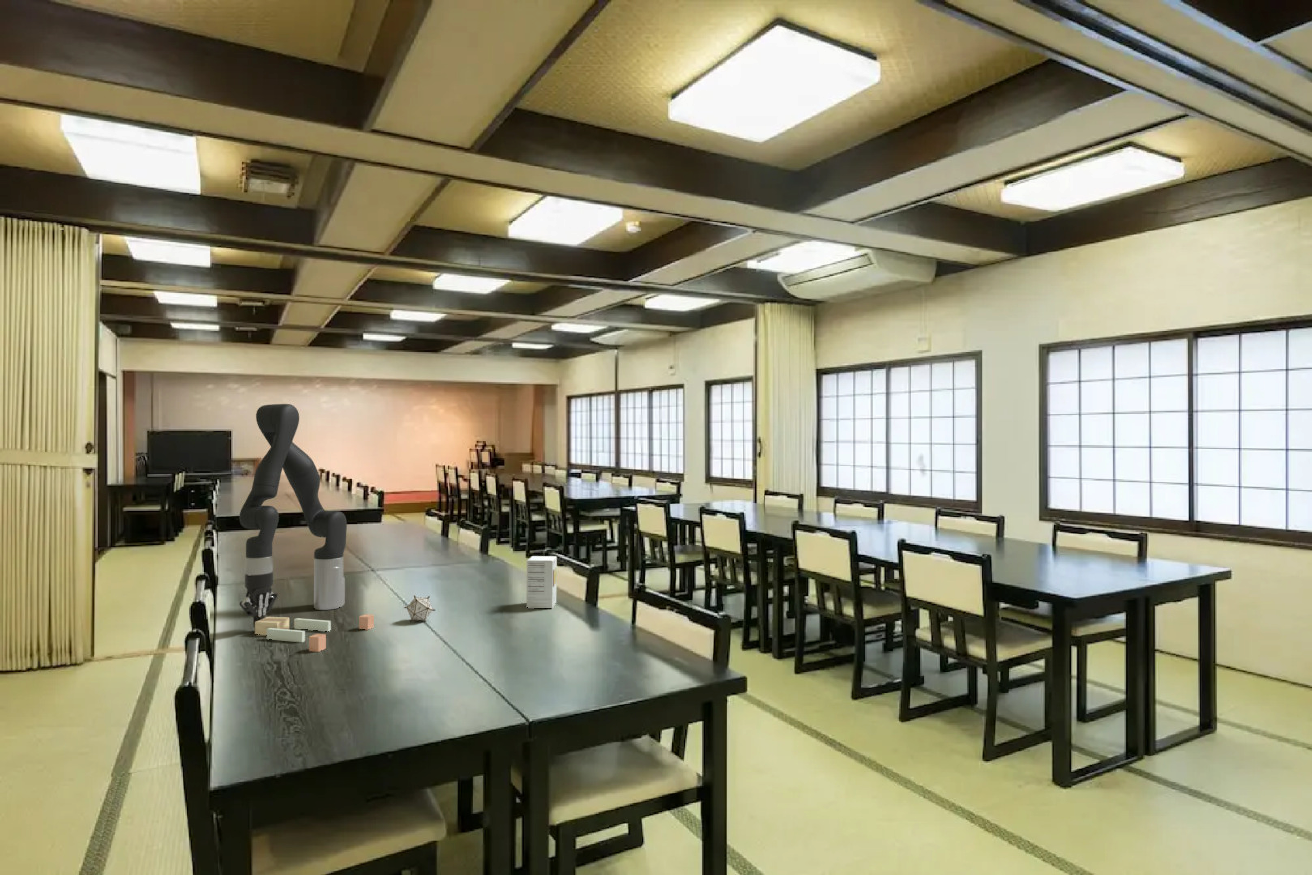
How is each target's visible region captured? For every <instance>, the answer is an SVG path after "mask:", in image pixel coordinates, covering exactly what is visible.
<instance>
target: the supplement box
mask: <svg viewBox="0 0 1312 875" xmlns="http://www.w3.org/2000/svg"><path fill="white" fill-rule="evenodd" d="M557 558H558V557H557V556H556V555H555V556H553V555H551V556H550V555H548V556H547V555H546V556H545V555H543V556H542V555H540V556H539V555H532V556H530V558H528V559H527V560H526V608H527V607H528V608H527V609H534V608H552V609H554V607H555V606H556V604H557V569H558V568H557V566H558V565H557V563H558V562H557V560H558V559H557ZM555 603H556V604H555Z"/></svg>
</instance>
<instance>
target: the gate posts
mask: <svg viewBox="0 0 1312 875" xmlns="http://www.w3.org/2000/svg"><path fill="white" fill-rule="evenodd" d="M358 619H359V620H358V623H359V625H358V629H365V630H364V631H369V630H368V629H370V630H372V629H374V628H373V627H374V626H375V621H374V620H375V615H374V614H362V615H359V618H358ZM371 628H372V629H371ZM326 635H327V634H324V633H315V634H313V635H310V636H308V639H309V640H308V648H309V649H308V651H309V652H316V653H317V652H318V653H319V652H321V650H322V651H323V650H326V649H327V636H326Z"/></svg>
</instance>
